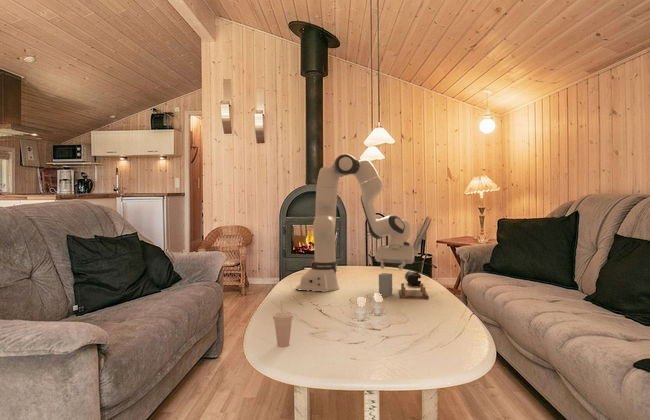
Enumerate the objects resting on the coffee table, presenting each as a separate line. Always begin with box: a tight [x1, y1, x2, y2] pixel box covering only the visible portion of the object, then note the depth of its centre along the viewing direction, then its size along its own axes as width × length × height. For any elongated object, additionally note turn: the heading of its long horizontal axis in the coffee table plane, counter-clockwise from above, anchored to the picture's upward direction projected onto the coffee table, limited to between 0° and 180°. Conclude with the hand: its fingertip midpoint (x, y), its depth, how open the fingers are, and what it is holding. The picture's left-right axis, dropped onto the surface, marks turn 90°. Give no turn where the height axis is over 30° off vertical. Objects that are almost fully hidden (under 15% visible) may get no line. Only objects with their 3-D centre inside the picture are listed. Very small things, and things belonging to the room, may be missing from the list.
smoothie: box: [272, 300, 294, 348], centre depth 135 cm, size 6×6×14 cm
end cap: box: [404, 270, 422, 288], centre depth 227 cm, size 10×7×7 cm
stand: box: [398, 282, 430, 300], centre depth 202 cm, size 13×13×5 cm
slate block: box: [378, 272, 393, 297], centre depth 204 cm, size 5×5×10 cm
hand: (390, 268), depth 211 cm, fingers open, 8 cm apart
